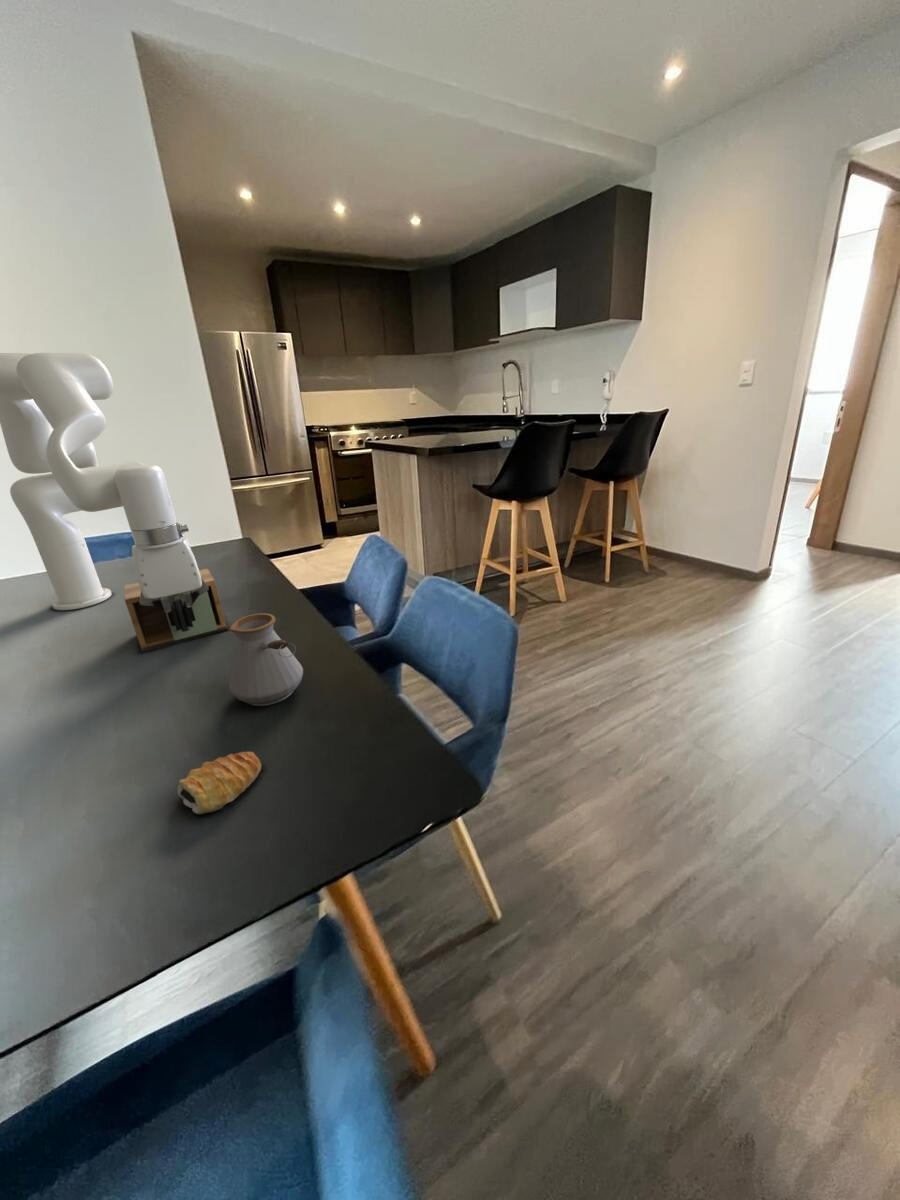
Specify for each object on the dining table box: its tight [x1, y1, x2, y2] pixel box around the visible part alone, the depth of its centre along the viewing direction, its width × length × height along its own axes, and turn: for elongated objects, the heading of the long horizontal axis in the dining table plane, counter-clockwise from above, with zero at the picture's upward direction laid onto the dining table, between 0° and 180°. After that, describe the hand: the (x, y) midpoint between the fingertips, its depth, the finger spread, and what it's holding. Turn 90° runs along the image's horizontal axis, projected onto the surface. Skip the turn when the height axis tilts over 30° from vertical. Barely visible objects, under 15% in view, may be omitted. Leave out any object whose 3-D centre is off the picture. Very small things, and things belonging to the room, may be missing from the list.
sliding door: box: [165, 591, 217, 641], centre depth 98 cm, size 5×8×10 cm, turn 122°
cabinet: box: [124, 568, 229, 653], centre depth 103 cm, size 11×16×11 cm
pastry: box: [176, 751, 262, 815], centre depth 60 cm, size 9×7×4 cm
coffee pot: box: [228, 613, 304, 707], centre depth 74 cm, size 21×12×15 cm, turn 37°
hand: (184, 625), depth 96 cm, fingers closed
